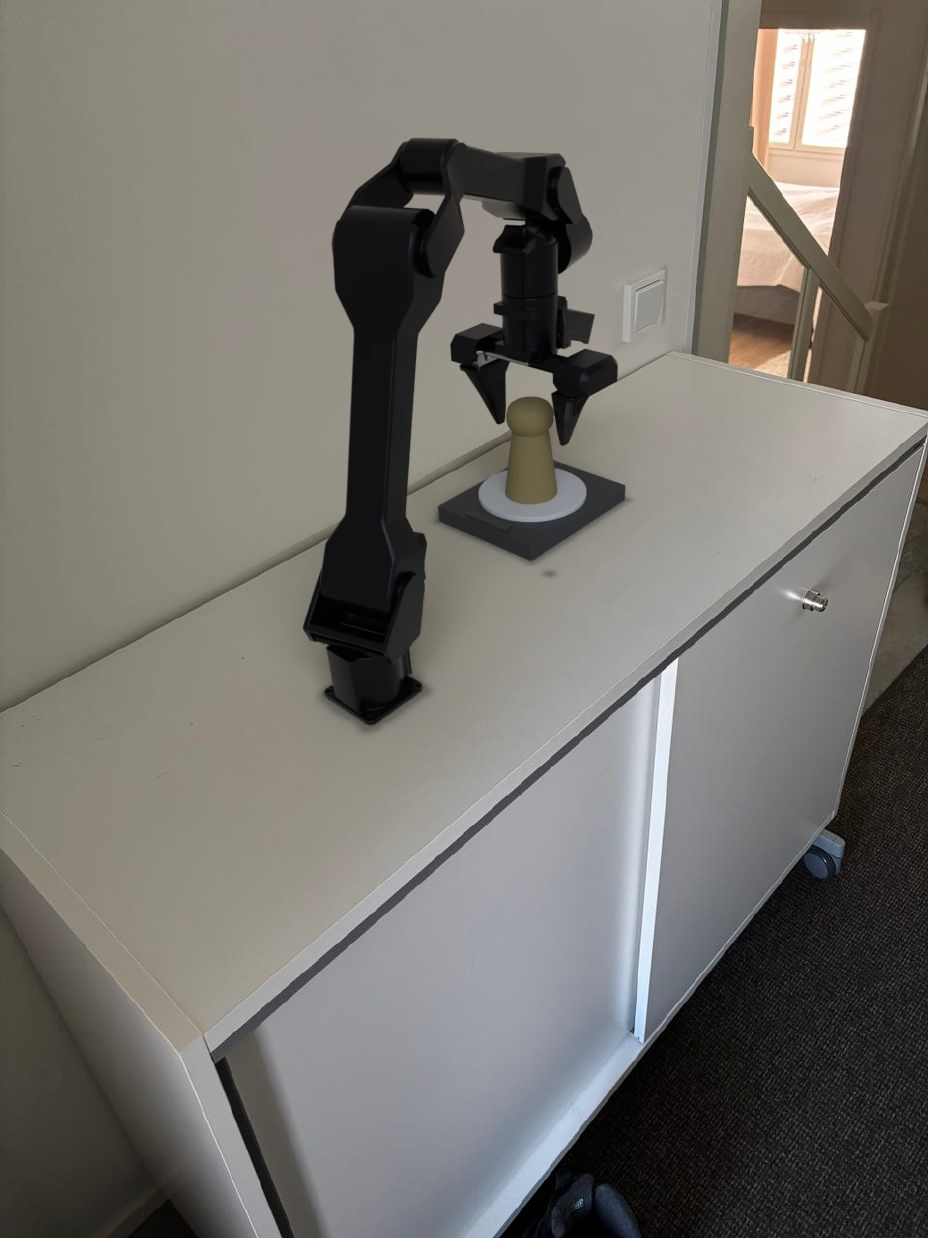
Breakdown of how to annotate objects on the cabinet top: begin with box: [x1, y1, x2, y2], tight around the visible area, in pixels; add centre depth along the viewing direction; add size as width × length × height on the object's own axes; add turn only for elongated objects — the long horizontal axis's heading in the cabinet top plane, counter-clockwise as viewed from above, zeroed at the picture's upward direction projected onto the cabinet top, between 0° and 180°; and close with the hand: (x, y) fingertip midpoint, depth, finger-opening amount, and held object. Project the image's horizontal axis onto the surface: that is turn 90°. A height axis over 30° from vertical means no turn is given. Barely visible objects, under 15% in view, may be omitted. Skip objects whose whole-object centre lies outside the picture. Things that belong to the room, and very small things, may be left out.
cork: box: [505, 395, 557, 504], centre depth 102 cm, size 6×6×11 cm
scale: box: [437, 459, 626, 562], centre depth 107 cm, size 17×14×3 cm
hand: (531, 433), depth 102 cm, fingers open, 9 cm apart
